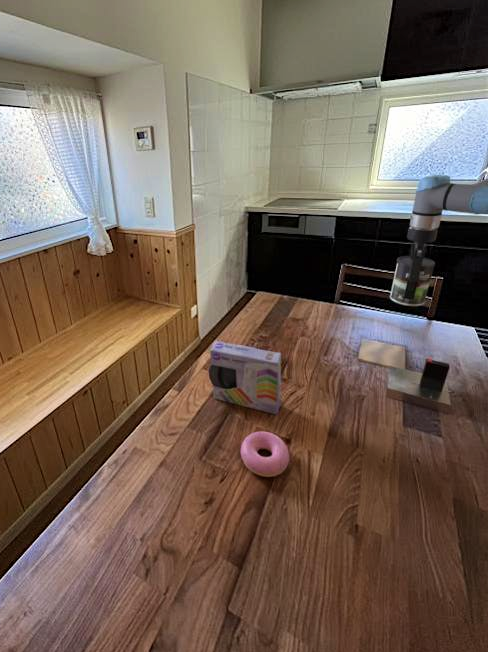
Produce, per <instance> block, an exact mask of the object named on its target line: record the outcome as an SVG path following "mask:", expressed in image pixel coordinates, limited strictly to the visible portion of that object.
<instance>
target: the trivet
mask: <svg viewBox="0 0 488 652" xmlns="http://www.w3.org/2000/svg"><path fill="white" fill-rule="evenodd" d="M357 361H359V362H363V363H367V364H371V365H375V366H378V367H383V368H387V369H388V368H389V366H393V367H398V368H402V369H406V347H405V346H400V345H396V344H390V343H385V342H380V341H376V340H373V339H367V338H364V337H363V338H361V342H360V347H359V351H358V356H357Z"/></svg>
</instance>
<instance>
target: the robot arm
mask: <svg viewBox="0 0 488 652" xmlns="http://www.w3.org/2000/svg"><path fill="white" fill-rule="evenodd" d="M443 211H447V212H448V211H449V212H457V213H466V214H474V215H488V178H485V179H484V178H483V179H482V180H480V181H478V182H475V183H471V184H469V183H453V182H451V176H449V175H446V174H445V175H443V174H427V175H423V176H421V177H420V179H419V181H418V184H417V187H416V190H415V197H414V201H413V206H412V211H411V212H412V213H411V215H410V216H408V219H409V220H410V222H409V228H408V230H407V234H406V238H407V240H409V242H410V241H411V242H413V243H411V245H410V246H411V247H410V256H411V260H412V263H411V265H412V267H411V269H410V274H409V278H406V281H407V285H406V289H405V294H404V299H411V300H414V295H415V291H416V287H417V283H418V281H419V275H420V271H421V266H422V261H423V259H424V258H425V255H426V253H427V250H428V249H427V243H433V242H435V241H436V239H437V236H438V235H437V234H438V228H439V227H440V225H441V224H440V223H441V220H442V215H443ZM413 277H415V278H413Z"/></svg>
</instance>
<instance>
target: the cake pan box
mask: <svg viewBox="0 0 488 652" xmlns="http://www.w3.org/2000/svg"><path fill="white" fill-rule="evenodd" d="M209 353H210V354H209V355H210V365H209V368H208V377H209V381H210V384H211V385H212V392H213V399H214V398H215V399H214V400H218V399H219V400H218V401H222V400H223V401H222V402H226V401H227V402H226V403H229V404H233V403H234V405H237V404H238V405H237V406H241V405H242V407H244V408H245V407H246V408H250V409H253V410H258V411H261V412H266V413H269V414H272V415H273V414H274V415H278V413H279V411H280V410H279V409H280V406H281V386H282V383H281V382H282V379H281V378H282V376H281V375H282V353H281V352H275V351H269V350H264V349H260V348H255V347H253V346H247V345H241V344H234V343H228V342H222V341H219V340H215V341H214V342H213V344H212V346H211V348H210V350H209Z"/></svg>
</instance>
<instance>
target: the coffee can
mask: <svg viewBox="0 0 488 652" xmlns="http://www.w3.org/2000/svg"><path fill="white" fill-rule="evenodd" d="M411 263H412V260H411V255H403V256H399V257H397V259H396V266H395V267H396V268H395V271H394V275H393V276H394V277H393V280H392V285H391V290H390V295H389V299H390V300H391V301H392V302H394V303H396V304H398V305H402V306H407V307H420V306H424V305H425V304H426V299H427V295H428V291H429V286H430V284H431V279H432V276H433V271H434V267H435V265H436V262H435V261H434V260H432V259H430V258H428V257H424V259H423V261H422V266H421V271H420V275H419V281H418V283H417V287H416V291H415V295H414V300H411V299H404V294H405V289H406V285H407V281H406V278H409V274H410V269H411V267H412V265H411ZM413 278H415V277H413Z"/></svg>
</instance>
